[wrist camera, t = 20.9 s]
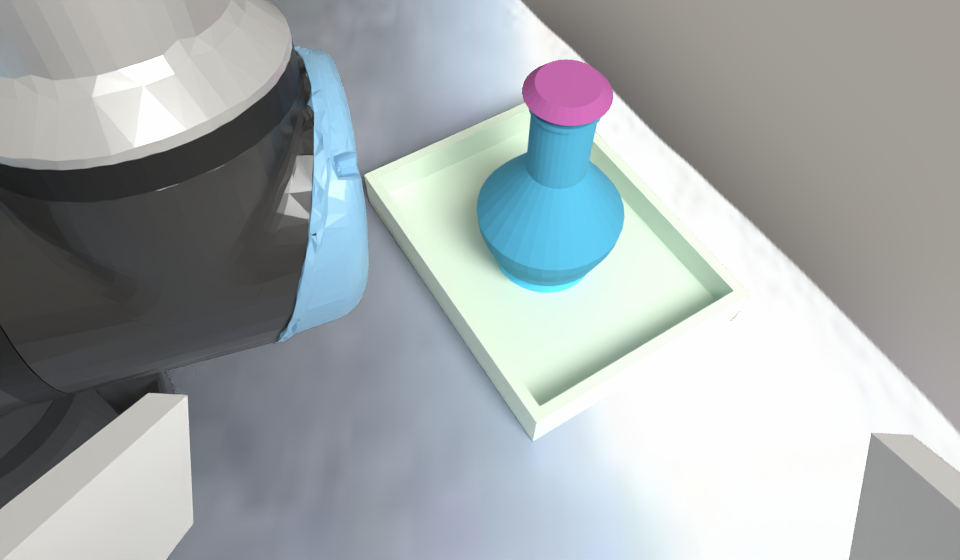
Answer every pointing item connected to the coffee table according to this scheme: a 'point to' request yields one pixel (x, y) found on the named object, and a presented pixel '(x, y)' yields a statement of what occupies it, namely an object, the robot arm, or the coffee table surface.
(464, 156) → the parts tray
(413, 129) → the coffee table surface
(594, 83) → the perfume bottle
